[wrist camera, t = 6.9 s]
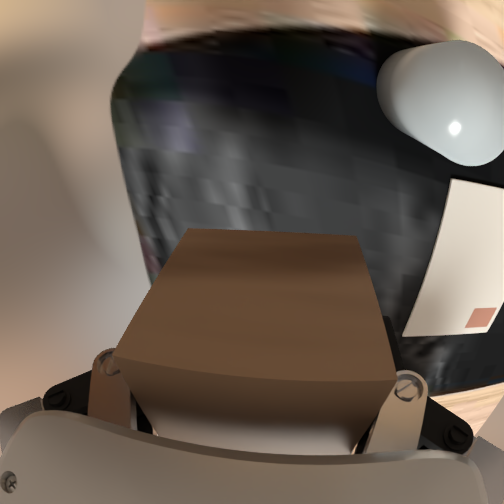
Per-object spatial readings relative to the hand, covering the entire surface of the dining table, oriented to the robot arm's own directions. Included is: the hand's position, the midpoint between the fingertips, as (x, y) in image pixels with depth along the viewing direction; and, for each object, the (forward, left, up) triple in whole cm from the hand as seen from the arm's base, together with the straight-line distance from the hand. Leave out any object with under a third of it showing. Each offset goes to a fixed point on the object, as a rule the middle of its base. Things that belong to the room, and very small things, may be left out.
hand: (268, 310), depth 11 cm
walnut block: (0, 0, -1) cm, 1 cm away
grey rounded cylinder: (-8, +8, -9) cm, 15 cm away
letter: (+4, +16, -9) cm, 19 cm away
